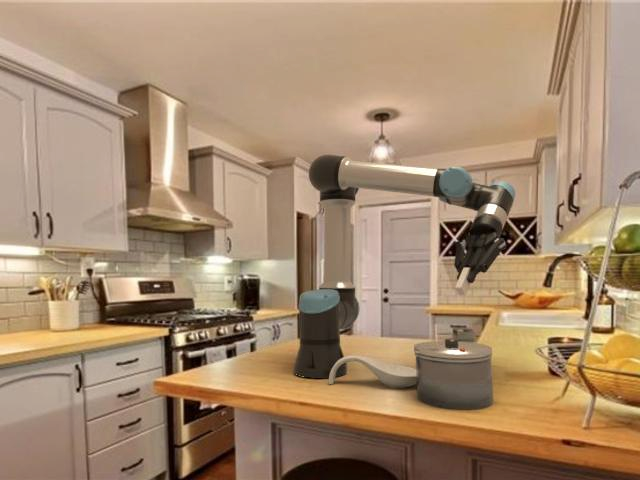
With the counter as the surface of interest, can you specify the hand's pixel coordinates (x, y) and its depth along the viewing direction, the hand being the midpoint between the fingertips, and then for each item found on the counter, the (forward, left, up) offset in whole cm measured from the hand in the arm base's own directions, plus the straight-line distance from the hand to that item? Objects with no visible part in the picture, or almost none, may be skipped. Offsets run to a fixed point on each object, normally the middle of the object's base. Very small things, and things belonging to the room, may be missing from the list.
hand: (460, 291), depth 95 cm
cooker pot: (+1, -4, -23) cm, 24 cm away
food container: (-28, +23, -24) cm, 43 cm away
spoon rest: (-16, -14, -24) cm, 32 cm away
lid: (+1, -4, -13) cm, 14 cm away
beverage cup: (-16, +4, -24) cm, 29 cm away
